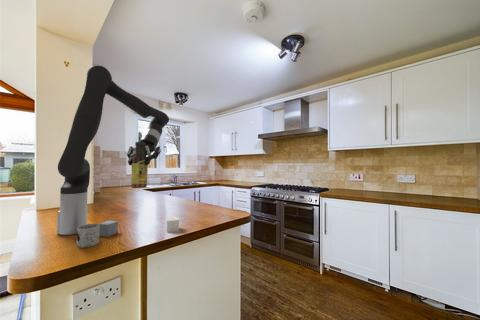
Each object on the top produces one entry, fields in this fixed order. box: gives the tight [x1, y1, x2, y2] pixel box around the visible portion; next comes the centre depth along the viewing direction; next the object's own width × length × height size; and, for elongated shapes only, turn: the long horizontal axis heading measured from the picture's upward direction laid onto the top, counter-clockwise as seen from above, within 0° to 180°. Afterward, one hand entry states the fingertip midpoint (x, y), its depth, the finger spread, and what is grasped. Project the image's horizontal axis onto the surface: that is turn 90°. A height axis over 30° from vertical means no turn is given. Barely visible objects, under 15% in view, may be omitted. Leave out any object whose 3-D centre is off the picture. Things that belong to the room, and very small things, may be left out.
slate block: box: [98, 220, 119, 238], centre depth 84 cm, size 5×5×5 cm
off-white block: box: [166, 216, 180, 233], centre depth 90 cm, size 5×5×5 cm
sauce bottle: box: [130, 141, 149, 189], centre depth 85 cm, size 6×6×20 cm
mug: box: [76, 223, 100, 249], centre depth 72 cm, size 10×7×7 cm, turn 24°
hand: (137, 164), depth 83 cm, fingers closed on sauce bottle, 6 cm apart
